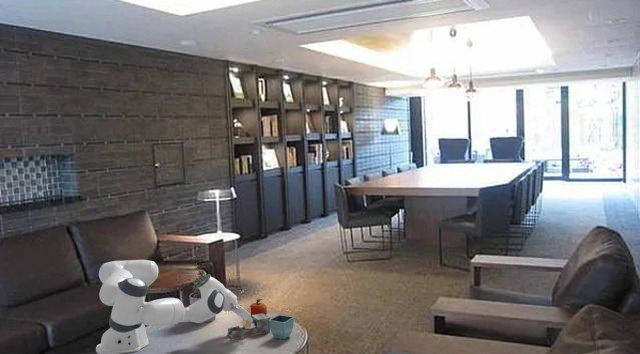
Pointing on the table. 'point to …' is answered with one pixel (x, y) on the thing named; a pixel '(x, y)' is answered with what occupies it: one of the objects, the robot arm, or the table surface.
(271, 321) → the flower pot
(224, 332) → the table surface
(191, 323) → the robot arm
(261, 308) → the fruit
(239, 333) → the rail base
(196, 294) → the potted plant
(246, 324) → the tall wooden block
